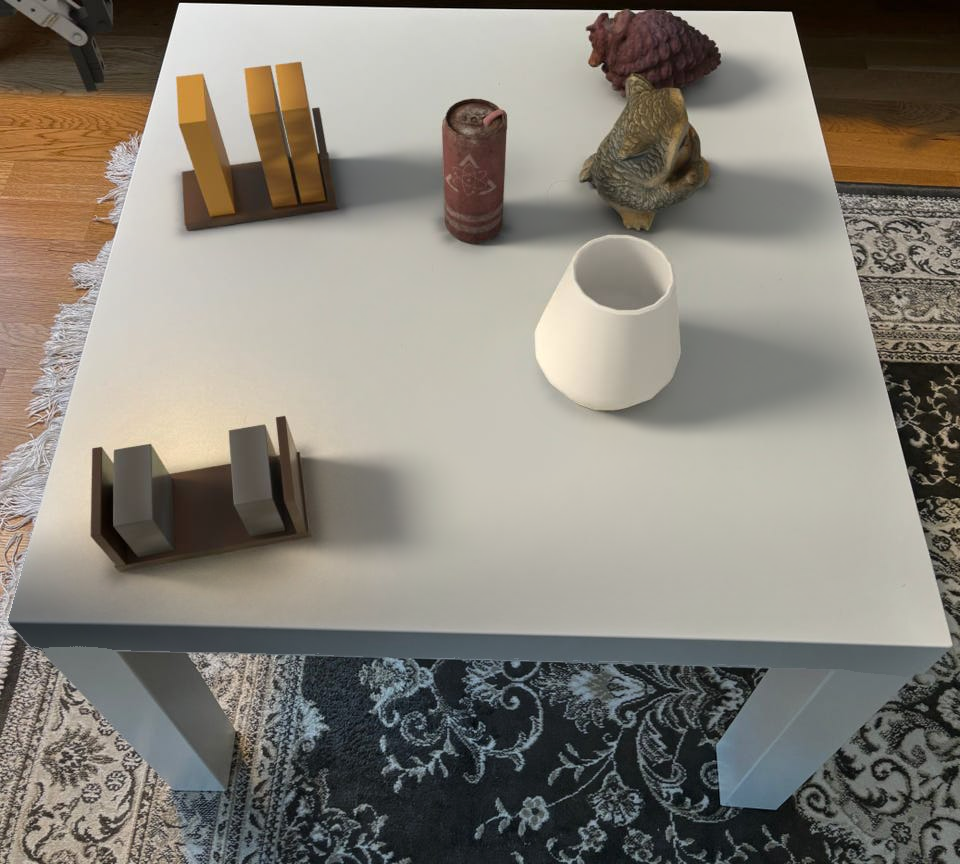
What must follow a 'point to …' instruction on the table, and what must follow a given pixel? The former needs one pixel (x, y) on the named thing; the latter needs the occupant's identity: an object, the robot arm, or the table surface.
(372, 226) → the table surface
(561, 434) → the table surface
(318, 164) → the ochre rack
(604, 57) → the pine cone
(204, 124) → the ochre book
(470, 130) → the can
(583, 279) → the cup
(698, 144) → the figurine
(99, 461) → the brown book rack
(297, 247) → the table surface
